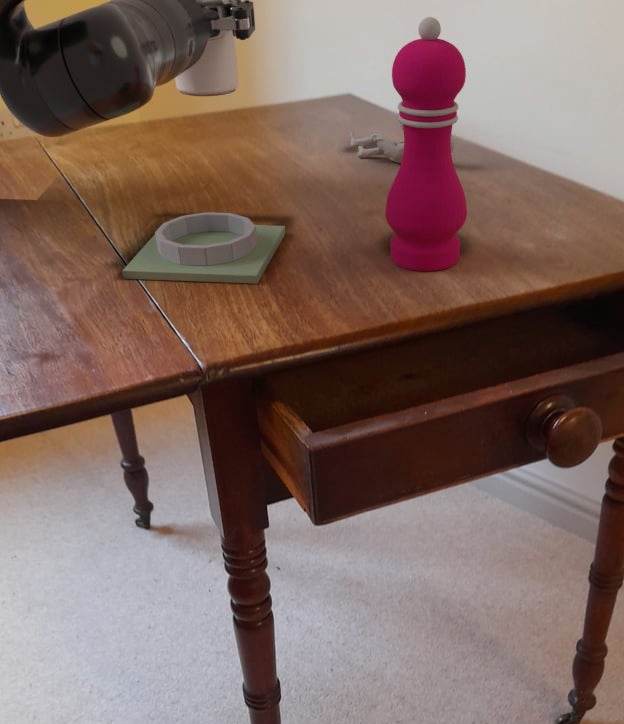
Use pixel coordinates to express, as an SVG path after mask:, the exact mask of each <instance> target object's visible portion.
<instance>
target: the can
mask: <svg viewBox="0 0 624 724" xmlns="http://www.w3.org/2000/svg"><path fill="white" fill-rule="evenodd" d="M222 1H227V0H222ZM205 8H208V6H207V7H205ZM223 15H224V17H226V14H225V9H224V11H223ZM235 38H236V36H233V32H232V30H229V31H226V34H225V36H224V37H223V38H219V39H214V40H209V41H208V42H207V45H206V48H205V50H204V52H203V54H202V56H201V58H200V59H199V60H198V61H197V62H196V63H195V64H194V65H193V66H192V67H190V68H189V69H187V70H186V71H184V72H183V73H181V74H180V75H178V76H177V77H175V78H174V81H175V88H176V89H177V90H178V92H179V93H181V94H182V95H186V96H192V97H217V96H224V95H228V94H232V93H234V92H236V91H237V88H238V87H239V75H238V73H239V72H238V62H237V60H238V59H237V50H236V40H235Z"/></svg>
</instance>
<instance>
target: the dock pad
mask: <svg viewBox="0 0 624 724" xmlns="http://www.w3.org/2000/svg"><path fill="white" fill-rule="evenodd" d="M285 235H286V226H285V225H273V224H271V225H266V224H255V223H254V222H252V220H251V219H250V218H249V217H247V216H243V215H239V214H236V213H233V212H210V211H207V212H200V213H199V212H198V213H192V214H186V215H180V216H178V217H176V218H173V219H170V220H168V221H167V220H166V221H164V222H163V223H162V224H161V225H160V226H159V227H157V229H156V230H155V232H154V234H153V236H152V237H150V239H149V240H148V241H147V242H146V243H145V244H144V245H143V247H142V248H141V249H140V250H139V251H138V252H137V253H136V254H135V256H134V257H133V258H132V259H131V260H130V261H129V262H128V264H127V265H125V267H124V268H123V269H122V277H123V279H124V280H146V281H147V280H149V281H171V282H173V281H175V282H198V283H199V282H201V283H223V284H224V283H225V284H227V283H228V284H229V283H230V284H249V285H250V284H251V285H253V284H254V285H256V284H258V283H259V281H260V280H261V278H262V276H263V274H264V273H265V271H266V269H267V267H268V265H269V264H270V262H271V260H272V259H273V256H274V255H275V253H276V252H277V249H278V247H279V245H280V244H281V243H282V241H283V239H284V237H285Z"/></svg>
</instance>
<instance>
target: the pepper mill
mask: <svg viewBox="0 0 624 724" xmlns="http://www.w3.org/2000/svg"><path fill="white" fill-rule="evenodd" d="M441 32H442V27H441V23H440V22H439V20H438V19H437V18H435V17H432V16H427V17H425V18H423V19H422V20H420V22H419V25H418V35H419V37H420V38H418V39H414V40H411V41H409V42H408V43H406V44H405V45H403V46H402V47H401V49H400V50H398V52H397V54H396V55H395V56H394V57H395V58H394V60H393V63H392V67H391V80H392V86H393V88H394V89H395V91H396V93H397V94H398V95H399V96H400V98H401V101H400V102H399V103H398V105H397V110H398V114H399V116H398V119H397V121H398V122H399V123H402V124H403V129H402V131H403V141H404V152H403V157H402V161H401V163H400V165H399V168H398V170H397V173H396V175H395V177H394V180H393V182H392V184H391V186H390V188H389V191H388V194H387V197H386V201H385V211H384V212H385V213H384V216H385V220H386V222H387V225H388V227H390V229H391V230H392V231H393V232H394V233H395V235H393V236H392V237H391V239H390V259H391V261H392V262H393V264H395V265H397V266H398V267H400V268H403V269H405V270H409V271H415V272H416V271H417V272H434V271H436V272H437V271H442V270H446V269H448V268H451V267H453V266H455V265H456V264H457V263H458V261H459V260H460V254H461V253H460V252H461V240H460V238H459V237H458V236H457V235H456V234H457V233H458V232H459V231H460V230H461V229H462V227H463V226H464V225H465V223H466V220H467V217H468V216H467V215H468V211H467V209H468V208H467V199H466V196H465V195H466V194H465V191H464V188H463V186H462V183H461V181H460V178H459V176H458V174H457V171H456V168H455V165H454V162H453V161H454V160H453V155H452V153H451V135H452V131H453V125H454V124H456V123H457V122H458V120H459V116H458V112H457V111H458V110H459V105H458V104H459V103H458V102H456V101H455V100H456V98H457V96H458V95H459V93H460V92H461V91H462V90H463V88H464V86H465V83H466V77H467V71H466V64H465V59H464V56H463V54H462V53H461V51H460V50H459V49H458V47H457V46H455V45H454V44H453V43H451V42H450V41H448V40H445V39H441V38H439V37H440V35H441Z"/></svg>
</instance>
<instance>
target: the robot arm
mask: <svg viewBox="0 0 624 724" xmlns="http://www.w3.org/2000/svg"><path fill="white" fill-rule="evenodd" d="M25 2H26V0H0V97H1V99H2V101H3V103H4V104H5V106H6V108H7V109H8V111H9V112H10V113H11V115H13V117H14V118H15V119H16V120H17V121H19V122H20V123H21V124H22V125H23V126H24V127H26V128H27V129H29V130H30V131H32V132H33V133H36V134H38V135H40V136H43V137H46V138H58V137H63V136H67V135H70V134H73V133H76V132H79V131H81V130H85V129H87V128H90V127H93V126H96V125H100V124H102V123H105V122H108V121H111V120H114V119H117V118H120V117H123V116H126V115H128V114H131V113H133V112H136V111H137V110H139V109H141V108H143V107H144V106H145V105H147V104H148V103H150V101H151V100H152V98H153V96H154V95H155V94H154V93H155V89H156V87H161V86H164V85H165V84H167V83H169V82H171V81H173V80H175V77H177V76H178V75H180V74H181V73H183V72H184V71H186V70H187V69H189V68H190V67H192V66H193V65H194V64H195V63H196V62H197V61H198V60H199V59H200V58H201V56H202V54H203V52H204V50H205V48H206V45H207V42H208V41H209V40H214V39H219V38H223V37H224V36H225V34H226V31H229V30H232V32H233V36H235V38H236V39H237V40H240V41H245V40H246V39H249V38H250V37H251V36H252V35H253V33H254V32H255V31H256V19H255V7H254V2H253V1H251V0H243V1H242V0H227V1H222V0H109V1H106V2H103V3H102V4H99V5H96V6H93V7H90V8H86V9H84V10H80V11H78V12H75V13H72V14H70V15H68V16H66V17H63V18H60V19H57V20H55V21H52V22H49V23H47V24H44V25H41V26H39V27H37V28H35V27H34V25H33V24H32V22H31V21H30V20H29V17H28V14H27V10H26V5H25ZM207 6H208V8H205V7H207ZM224 9H225V14H226V17H224V15H223V11H224Z"/></svg>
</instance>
